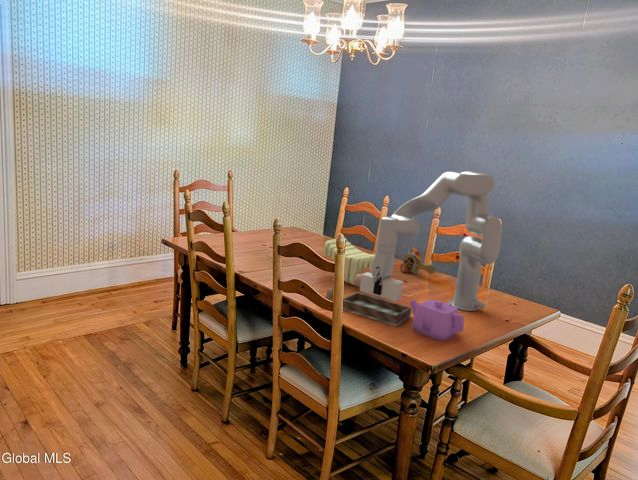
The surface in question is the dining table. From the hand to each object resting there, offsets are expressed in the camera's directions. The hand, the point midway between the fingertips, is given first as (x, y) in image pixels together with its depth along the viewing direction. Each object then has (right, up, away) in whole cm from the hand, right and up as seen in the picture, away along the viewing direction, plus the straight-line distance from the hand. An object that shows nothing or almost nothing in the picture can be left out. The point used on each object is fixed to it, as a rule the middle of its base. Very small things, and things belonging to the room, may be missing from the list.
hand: (380, 292), depth 192 cm
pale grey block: (-1, -1, +1) cm, 2 cm away
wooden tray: (-2, -9, +3) cm, 9 cm away
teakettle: (+18, -14, -11) cm, 26 cm away
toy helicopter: (+27, +2, +64) cm, 70 cm away
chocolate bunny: (-18, -5, +16) cm, 24 cm away
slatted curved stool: (-7, +1, +43) cm, 43 cm away
